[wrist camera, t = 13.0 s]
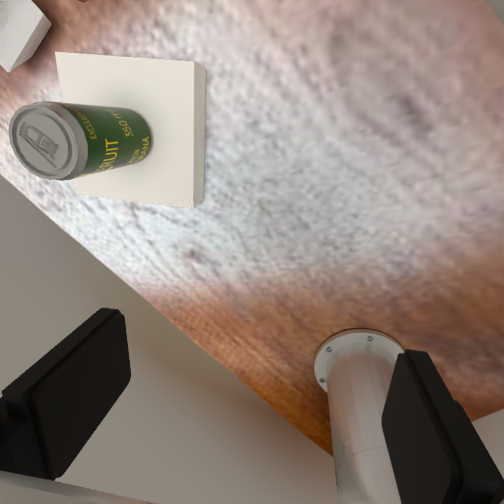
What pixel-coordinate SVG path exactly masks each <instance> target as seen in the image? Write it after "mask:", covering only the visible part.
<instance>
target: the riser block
mask: <svg viewBox="0 0 504 504" xmlns="http://www.w3.org/2000/svg"><path fill="white" fill-rule="evenodd" d="M55 55H56V62H57V69H58V76H59V83H60V90H61V97H62V103H73V104H84V105H96V106H108V107H120V108H126V109H131V110H133V111H134V112H136V113H138V114H139V115H140V116H141V117H142V118H143V119H144V120H145V122H146V123H147V125H148V127H149V129H150V133H151V137H152V139H151V147H150V150H149V153H148V155H147V156H146V157H145V158H144V159H143V160H142V161H140V162H138V163H136V164H131V165H127V166H123V167H119V168H115V169H111V170H107V171H103V172H99V173H95V174H91V175H87V176H83V177H79V178H74V179H73V180H74V187H75V194H78V195H86V196H95V197H103V198H111V199H120V200H128V201H136V202H145V203H153V204H162V205H170V206H178V207H187V208H194V207H196V206H197V205H198V204H199V203H201V202H202V201H203V200H204V158H205V106H206V68H205V67H203V66H201V65H199V64H198V63H196V62H194V61H180V60H165V59H151V58H136V57H122V56H107V55H93V54H78V53H63V52H55Z"/></svg>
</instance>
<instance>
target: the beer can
mask: <svg viewBox="0 0 504 504" xmlns="http://www.w3.org/2000/svg"><path fill="white" fill-rule="evenodd" d="M9 137H10V143H11V146H12V148H13V151H14V153H15V155H16V157H17V158H18V159H19V161H20V162H21V164H22V165H23V166H24V167H25V168H26V169H27V170H29V171H30V172H31V173H33V174H35V175H36V176H38V177H40V178H44V179H49V180H52V179H56V180H60V181H62V180H70V179H74V178H79V177H83V176H87V175H91V174H95V173H99V172H103V171H107V170H111V169H115V168H119V167H123V166H127V165H131V164H136V163H138V162H140V161H142V160H143V159H144V158H145V157H146V156H147V155H148V153H149V150H150V147H151V139H152V137H151V133H150V129H149V127H148V125H147V123H146V122H145V120H144V119H143V118H142V117H141V116H140V115H139V114H138V113H136V112H134V111H133V110H131V109H126V108H120V107H108V106H96V105H84V104H73V103H61V102H49V101H42V102H36V103H33V104H31V105H25V106H22V107H21V108H20V109H18V110H17V111H15V113H14V115H13V117H12V118H11V120H10V126H9Z"/></svg>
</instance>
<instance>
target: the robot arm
mask: <svg viewBox="0 0 504 504" xmlns="http://www.w3.org/2000/svg"><path fill="white" fill-rule="evenodd" d="M314 373H315V377H316V380H317V381H318V383H319V385H320V386H321V388H322V389H323V390H324V391H325V392H326V393H328V403H329V413H330V424H331V434H332V445H333V455H334V464H335V465H334V466H335V475H336V485H337V493H338V500H339V503H340V504H504V479H503V477H502V475H501V474H500V472H499V470H498V469H497V467H496V465H495V463H494V461H493V460H492V458H491V456H490V455H489V453H488V451H487V449H486V448H485V446H484V444H483V442H482V441H481V439H480V437H479V435H478V434H477V432H476V430H475V429H474V427H473V425H472V423H471V421H470V420H469V418H468V416H467V414H466V413H465V411H464V409H463V408H462V406H461V405H460V403H458V402H457V401H455V400H453V398H452V396H451V394H450V392H449V391H448V389H447V387H446V385H445V383H444V382H443V380H442V378H441V376H440V374H439V373H438V371H437V369H436V367H435V365H434V364H433V362H432V360H431V358H430V357H429V355H428V353H427V352H424V351H417V350H409V349H406V350H405V351H404V349H403V348H402V347H401V345H400V344H399V343H398V342H397V341H395V340H394V339H393V338H391V337H390V336H388V335H386V334H384V333H381V332H378V331H374V330H369V329H353V330H347V331H344V332H340V333H338V334H336V335H334V336H332V337H330V338H329V339H328V340H326V341H325V342H324V343H323V344H322V345H321V346H320V348H319V349H318V351H317V353H316V356H315V359H314ZM130 378H131V370H130V360H129V351H128V343H127V334H126V326H125V317H124V315H123V314H121V312H120V311H119V310H118V309H110V308H101V309H99V310H98V311H97V312H96V313H94V314H93V315H92V316H91V317H90V318H88V319H87V320H86V321H85V322H84V323H82V324H81V325H80V326H79V327H78V328H76V329H75V330H74V331H73V332H72V333H71V334H69V335H68V336H67V337H66V338H65V339H63V340H62V341H61V342H60V343H59V344H57V345H56V346H55V347H54V348H53V349H51V350H50V351H49V352H48V353H47V354H45V355H44V356H43V357H42V358H41V359H40V360H38V361H37V362H36V363H35V364H34V365H32V366H31V367H30V368H29V369H28V370H26V371H25V372H24V373H23V374H22V375H20V376H19V377H18V378H17V379H16V380H14V381H13V382H12V383H11V384H10V385H8V386H7V387H6V388H5V389H4V390H2V395H3V396H2V397H1V398H0V504H157V503H153V502H148V501H144V500H139V499H135V498H130V497H125V496H120V495H116V494H112V493H107V492H103V491H98V490H93V489H89V488H84V487H79V486H75V485H70V484H65V483H61V482H56V481H54V480H55V479H56V478H59V477H61V476H62V475H63V474H64V473H65V472H66V470H67V469H68V467H69V466H70V465H71V463H72V462H73V461H74V459H75V458H76V456H77V455H78V453H79V452H80V451H81V449H82V448H83V447H84V445H85V444H86V442H87V441H88V440H89V438H90V437H91V435H92V434H93V433H94V431H95V430H96V429H97V427H98V426H99V424H100V423H101V421H102V420H103V419H104V417H105V416H106V415H107V413H108V412H109V410H110V409H111V408H112V406H113V405H114V403H115V402H116V401H117V399H118V398H119V396H120V395H121V394H122V392H123V391H124V389H125V388H126V387H127V385H128V384H129V381H130Z"/></svg>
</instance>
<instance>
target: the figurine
mask: <svg viewBox="0 0 504 504" xmlns="http://www.w3.org/2000/svg"><path fill="white" fill-rule="evenodd" d="M51 25H52V24H51V22H50V21H49V20H48V19H47V18H46V16H45V15H44V14H43V13H42V12H41V10H40V9H39V8H38V7H37V6H36V5H35V4H34V3H33V2H32V0H0V65H1V66H2V67H3V68H4V69H5V70H6V71H7V72H8V73H9V72H10V71H12V70H13V69H15V68H16V67H18V66H19V65H21V64H22V63H24V62H25V61H26V60H28V59H29V58H31V57H32V56H33V54H34V53H35V51H36V49H37V48H38V46H39V45H40V43H41V41H42V40H43V38H44V37H45V35H46V33H47V32H48V30H49V29H50V27H51Z"/></svg>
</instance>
